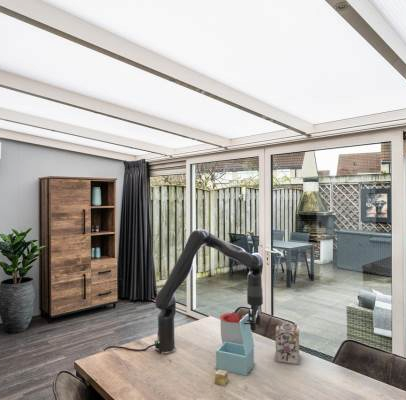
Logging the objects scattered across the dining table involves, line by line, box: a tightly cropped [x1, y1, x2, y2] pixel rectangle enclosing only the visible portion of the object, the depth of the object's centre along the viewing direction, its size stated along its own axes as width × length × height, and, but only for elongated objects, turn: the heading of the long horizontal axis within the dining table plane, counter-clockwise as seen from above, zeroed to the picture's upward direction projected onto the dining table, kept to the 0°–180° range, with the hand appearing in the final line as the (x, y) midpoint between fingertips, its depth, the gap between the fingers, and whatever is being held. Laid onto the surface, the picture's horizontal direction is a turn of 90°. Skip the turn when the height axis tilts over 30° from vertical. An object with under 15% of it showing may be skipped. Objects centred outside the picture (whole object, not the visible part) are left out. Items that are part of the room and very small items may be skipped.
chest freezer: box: [215, 342, 255, 376], centre depth 166 cm, size 16×13×9 cm
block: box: [214, 369, 229, 386], centre depth 152 cm, size 4×4×4 cm
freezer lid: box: [239, 313, 256, 356], centre depth 162 cm, size 16×13×5 cm
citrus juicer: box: [219, 311, 246, 345], centre depth 190 cm, size 16×17×20 cm
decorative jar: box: [274, 322, 300, 365], centre depth 174 cm, size 12×12×18 cm
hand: (255, 327), depth 161 cm, fingers open, 8 cm apart
